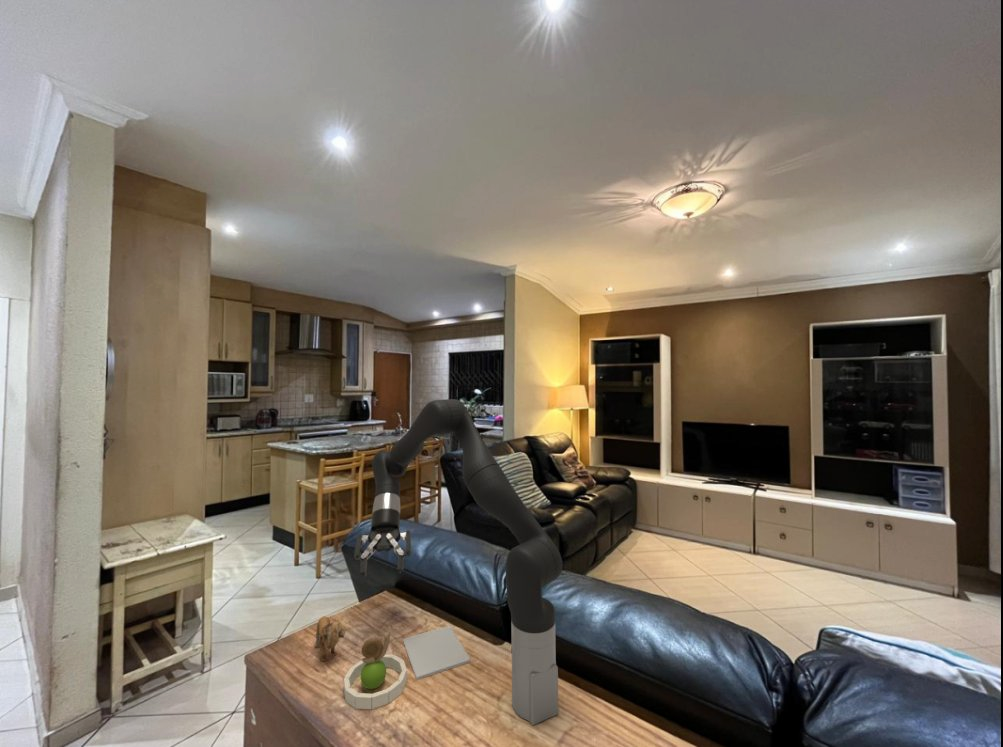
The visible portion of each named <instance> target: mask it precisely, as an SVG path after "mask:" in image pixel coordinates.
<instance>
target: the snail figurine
mask: <svg viewBox="0 0 1003 747" xmlns="http://www.w3.org/2000/svg"><path fill="white" fill-rule="evenodd" d="M387 630H388V632H386V633H384V635H383V638H384V640H383V641H381V639H379V638H377V637H372V638H369V639H367V640H366V641H365V642H364V643H363V644H362V646H361V655H362V656H363V658H361V660H362V661H363V662H364V663H366V664H365V665H364V666H363V668H362V671H361V675H360V682H361V685H362V686H363V687H364V688H366V689H368V690H374V689H376V688H379V687H380V686H381V685H382V684H383V683H384V681H385V679H386V675H387V668H386V666H385V664H384V662H383V661H382V660H380V659H381V658H382V657H384V655H385V654H387V652H388V648H389V644H390V640H391V636H392V635H391V633H390V632H391V626H387Z"/></svg>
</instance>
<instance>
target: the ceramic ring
mask: <svg viewBox="0 0 1003 747" xmlns="http://www.w3.org/2000/svg"><path fill="white" fill-rule="evenodd" d="M380 660H382V661H383V662H384V664H385V666H386V669H387V668H389V669H392V670H395V671H396V672H398V673H399V677H398V679H397V680H396V681H395V682H394V683H392V684H391V685H390V686H389V687H388V688H386V689H384V690H380V691H377V692H374V693H364V692H363V693H361V692H358V691H357V690H355V689H353V688H352V687H351V686H352V685H353V683H354V682H355V680H356V679H357V678H359V677H361V671H362V668H363V666H364V665H365V664H366V663H364V662H363V661H362V659H361V660H360V661H358V662H357V663H355V664H353V665H352V666H351V667H350V668H349V670H348V671H347V673H346V675H345V676H344V678H343V694H344V701H345V703H347V704H348V705H350V707H353V709H355V710H374V709H378V708H380V707H383V706H386V705H389V704H390V703H392V702H393V701H394V700H395V699H396V698H398V697H399V696H400V695H402V693H403V692H404V691H403V690H404V688H405V687H406V684H407V682H408V681H407V680H408V674H407V673H408V670H407V666H406V663H405V661H404V659H402V658H401V657H399V656H397V655H395V654H392V653H391V654H387V653H386V654H385V655H384V657H382V658H381V659H380Z"/></svg>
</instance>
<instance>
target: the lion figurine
mask: <svg viewBox="0 0 1003 747" xmlns="http://www.w3.org/2000/svg"><path fill="white" fill-rule="evenodd" d="M347 631H348V630H347V629H346V628H345V627H344V628H343V627H342V626H341V625H340V623H339V621H335V622H333V621H332V622H331V620H330V618H329V617H328V616H322V617H321V618H319V620H318V622H317V624H316V633H315V636H316V641H315V645H314V649H319V648H320V653H321V654H320V655H321V658H320V662H322V663H323V662H325V661H326V660H327V654H326V649H327V650H330V651H329V652H330V655H331V656H332V657H334V656H336V655H337V654H338V653H337V651H335V649H336V648H335V647H336V645H337V644H338V643H339V642H340V639H344V637H345V635H346V633H347Z"/></svg>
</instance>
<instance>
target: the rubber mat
mask: <svg viewBox="0 0 1003 747" xmlns="http://www.w3.org/2000/svg"><path fill="white" fill-rule="evenodd" d="M403 642H404V643H403ZM402 643H403V646H404V645H405V646H404V648H406V649H405V652H406V651H407V652H406V654H408V655H407V658H408V660H409V662H410V665H411V668H412V669H411V670H412V671H413V674H414V677H415V680H416V681H418V680H421V679H424V678H426V677H430V676H434V675H436V674H438V673H441V672H442V673H443V672H445V671H448V670H450V669H454V668H456V667H459V666H463V665H466V664H469V663H471V658H470V657H469V654H468V653H467V652H466V649H465V648H464V646H463V645H462V642H461V641H460V639H459V638H458V636H457V634H456V632H455V630H454V629H453V627H452V625H447V626H444V627H440V628H436V629H433V630H428V631H426V632H422V633H419V634H415V635H412V636H409V637H404V638H402Z"/></svg>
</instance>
